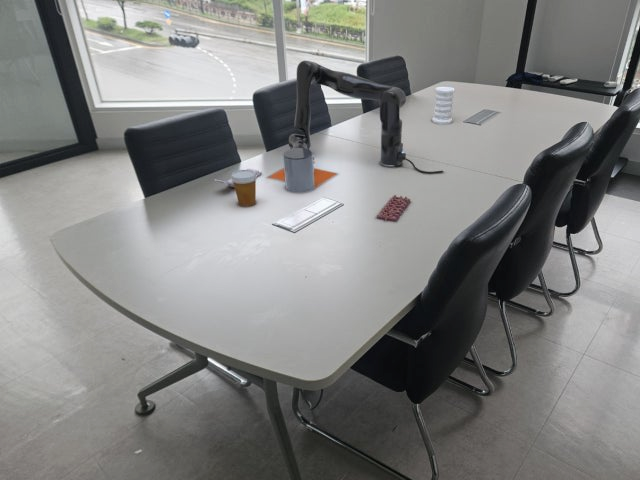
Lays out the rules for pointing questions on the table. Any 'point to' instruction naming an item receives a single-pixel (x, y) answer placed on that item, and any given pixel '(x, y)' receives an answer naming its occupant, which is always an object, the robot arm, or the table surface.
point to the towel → (319, 175)
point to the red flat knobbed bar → (394, 208)
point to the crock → (299, 170)
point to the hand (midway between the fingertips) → (300, 168)
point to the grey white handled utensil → (232, 181)
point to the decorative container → (443, 105)
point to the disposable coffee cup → (245, 186)
